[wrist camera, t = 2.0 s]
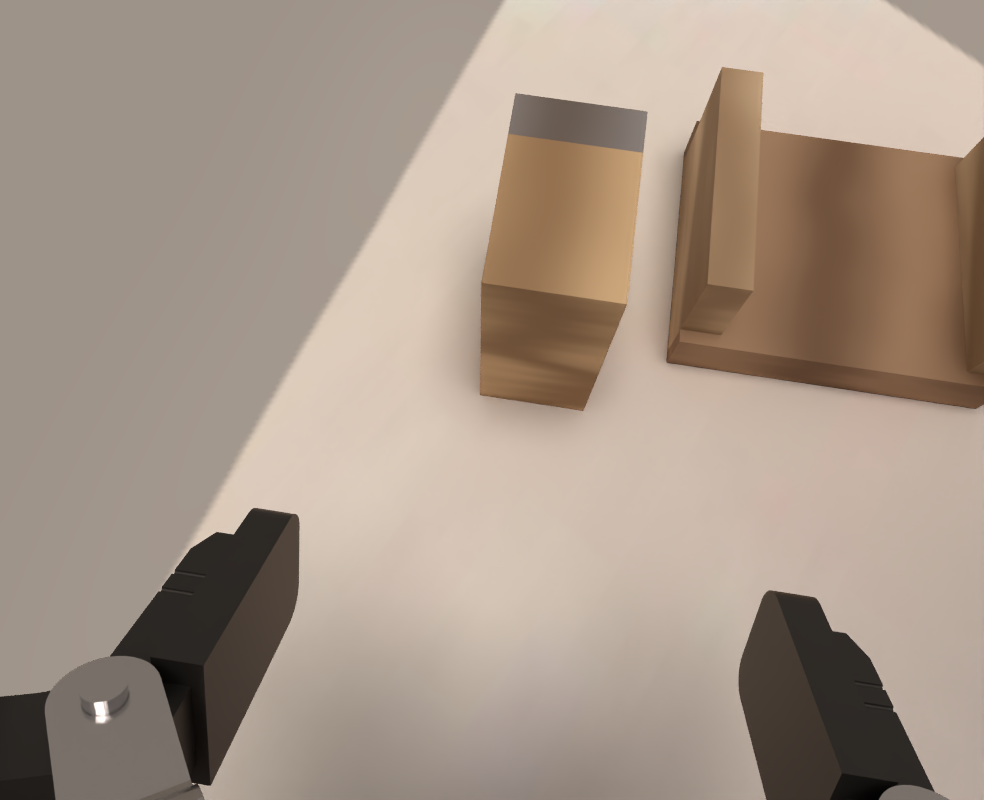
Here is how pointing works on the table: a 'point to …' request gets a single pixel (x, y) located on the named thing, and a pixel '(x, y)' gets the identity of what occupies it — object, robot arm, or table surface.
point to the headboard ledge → (827, 258)
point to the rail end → (559, 249)
